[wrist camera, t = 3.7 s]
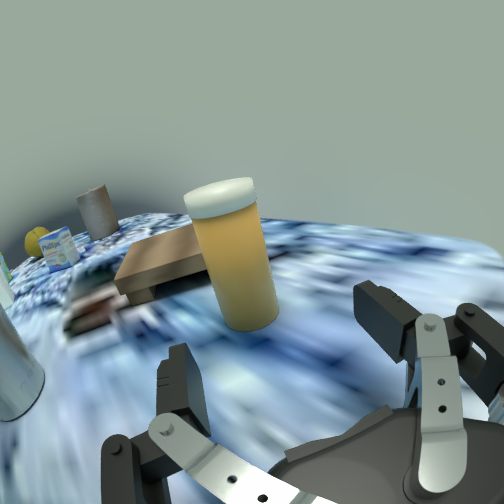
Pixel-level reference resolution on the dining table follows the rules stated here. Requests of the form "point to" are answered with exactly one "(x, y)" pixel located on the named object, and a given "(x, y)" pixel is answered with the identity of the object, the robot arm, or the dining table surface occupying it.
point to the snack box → (5, 269)
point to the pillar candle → (98, 213)
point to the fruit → (35, 241)
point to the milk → (5, 292)
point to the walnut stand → (158, 263)
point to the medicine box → (59, 249)
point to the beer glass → (234, 252)
